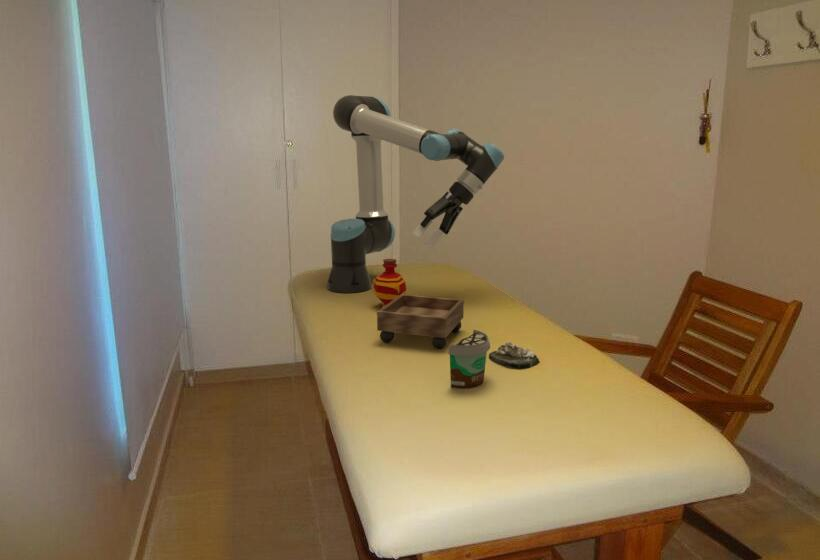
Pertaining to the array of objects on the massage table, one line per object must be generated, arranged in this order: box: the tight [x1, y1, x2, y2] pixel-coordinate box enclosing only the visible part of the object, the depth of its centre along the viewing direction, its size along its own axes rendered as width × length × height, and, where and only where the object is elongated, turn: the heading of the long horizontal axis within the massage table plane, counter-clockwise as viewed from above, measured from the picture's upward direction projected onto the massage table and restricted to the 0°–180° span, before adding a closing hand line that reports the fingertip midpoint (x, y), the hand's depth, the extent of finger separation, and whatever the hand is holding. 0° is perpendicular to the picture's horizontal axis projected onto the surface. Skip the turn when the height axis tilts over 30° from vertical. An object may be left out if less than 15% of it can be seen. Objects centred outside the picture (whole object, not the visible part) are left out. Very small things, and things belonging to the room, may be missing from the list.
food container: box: [447, 329, 491, 390], centre depth 129 cm, size 12×6×10 cm, turn 148°
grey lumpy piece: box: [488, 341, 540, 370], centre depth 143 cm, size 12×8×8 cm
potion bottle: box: [372, 258, 407, 308], centre depth 184 cm, size 10×10×15 cm
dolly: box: [376, 294, 465, 350], centre depth 158 cm, size 18×18×9 cm
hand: (422, 241), depth 188 cm, fingers open, 13 cm apart
